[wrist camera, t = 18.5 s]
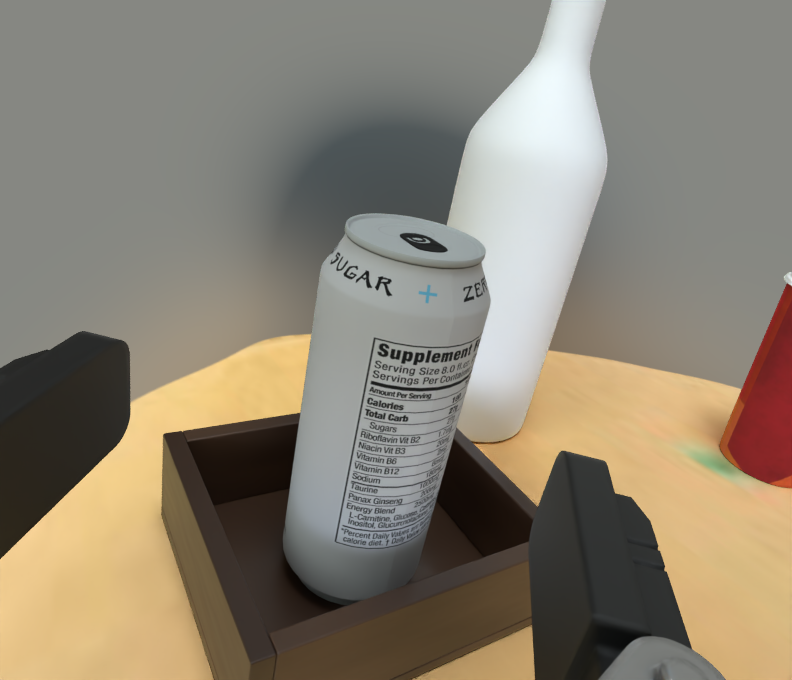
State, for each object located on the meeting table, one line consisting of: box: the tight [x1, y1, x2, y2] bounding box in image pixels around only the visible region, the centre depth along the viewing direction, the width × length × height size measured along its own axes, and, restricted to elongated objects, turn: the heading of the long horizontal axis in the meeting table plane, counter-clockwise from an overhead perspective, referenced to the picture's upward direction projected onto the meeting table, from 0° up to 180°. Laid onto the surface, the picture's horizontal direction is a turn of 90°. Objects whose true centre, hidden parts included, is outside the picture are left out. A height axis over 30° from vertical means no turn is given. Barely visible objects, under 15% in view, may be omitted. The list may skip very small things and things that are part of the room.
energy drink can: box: [283, 214, 491, 605], centre depth 23 cm, size 6×6×15 cm
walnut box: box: [161, 413, 538, 680], centre depth 26 cm, size 14×12×5 cm
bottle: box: [447, 0, 608, 442], centre depth 35 cm, size 8×8×30 cm
